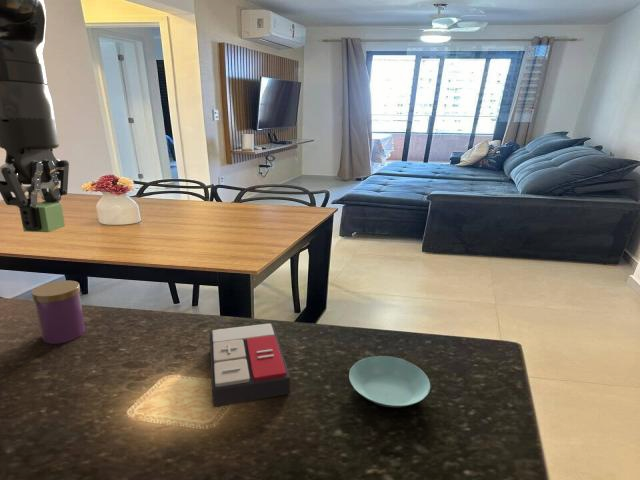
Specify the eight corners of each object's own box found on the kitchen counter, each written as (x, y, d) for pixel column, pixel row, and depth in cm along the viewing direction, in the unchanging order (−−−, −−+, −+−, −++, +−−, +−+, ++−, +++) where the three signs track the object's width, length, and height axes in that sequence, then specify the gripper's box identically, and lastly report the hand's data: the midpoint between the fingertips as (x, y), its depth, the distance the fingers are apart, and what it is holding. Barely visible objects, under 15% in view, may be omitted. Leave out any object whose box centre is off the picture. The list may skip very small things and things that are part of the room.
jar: (35, 335, 69) (25, 288, 67) (77, 321, 74) (70, 277, 72) (49, 349, 65) (39, 300, 62) (93, 333, 70) (85, 287, 68)
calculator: (211, 385, 51) (209, 326, 65) (212, 411, 53) (210, 348, 66) (290, 373, 54) (273, 319, 68) (290, 397, 56) (273, 340, 69)
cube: (23, 231, 60) (18, 206, 59) (41, 225, 64) (37, 201, 63) (48, 232, 60) (44, 207, 59) (65, 226, 64) (61, 202, 63)
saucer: (342, 368, 62) (343, 356, 61) (413, 365, 63) (414, 353, 62) (356, 421, 51) (357, 407, 50) (441, 417, 52) (443, 403, 51)
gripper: (34, 116, 64) (51, 216, 69) (-45, 113, 50) (-17, 238, 55) (78, 117, 64) (92, 217, 69) (12, 115, 50) (35, 239, 55)
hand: (44, 226), depth 62 cm, fingers closed on cube, 4 cm apart
